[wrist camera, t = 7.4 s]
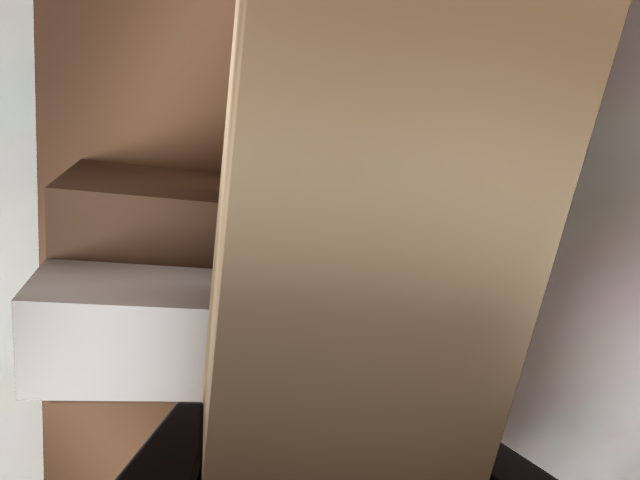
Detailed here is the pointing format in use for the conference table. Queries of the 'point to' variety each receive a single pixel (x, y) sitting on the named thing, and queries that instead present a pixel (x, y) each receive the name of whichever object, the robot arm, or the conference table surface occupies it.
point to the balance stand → (121, 221)
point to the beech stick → (390, 227)
